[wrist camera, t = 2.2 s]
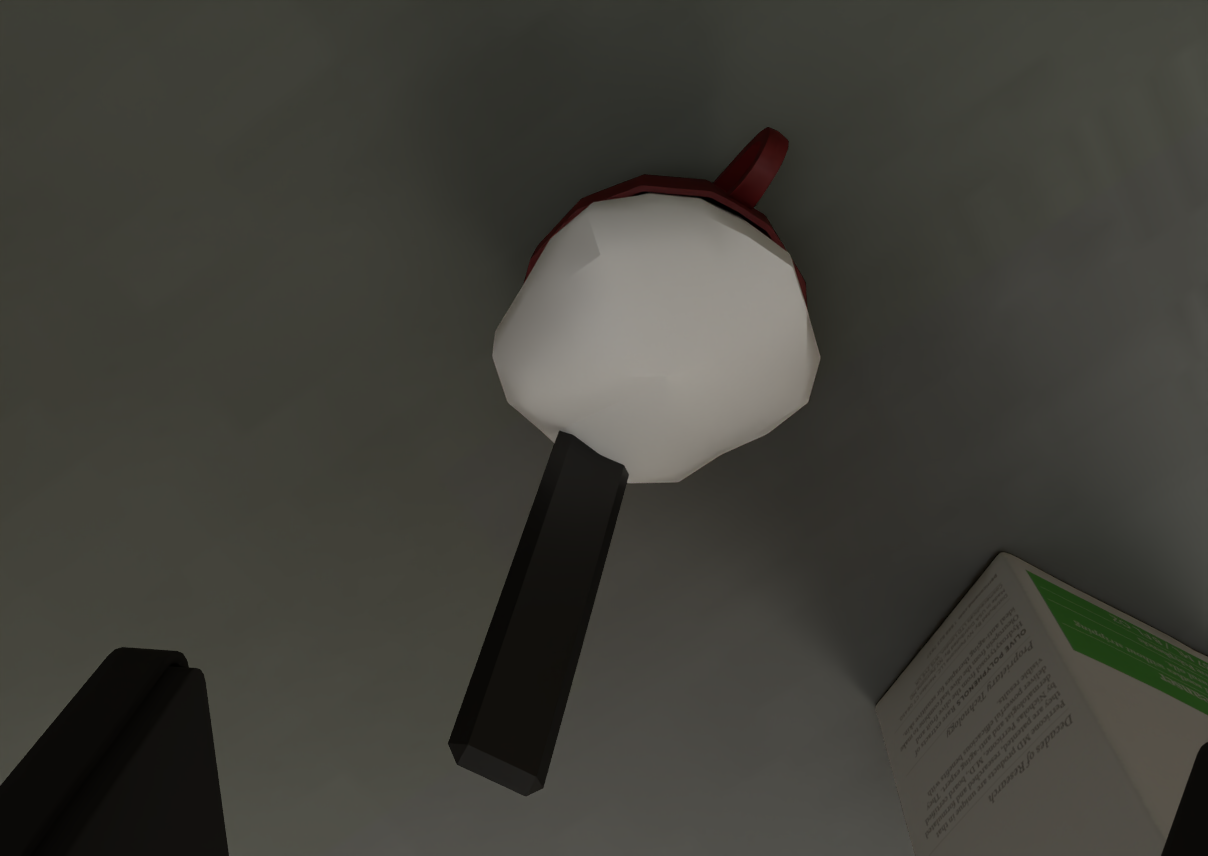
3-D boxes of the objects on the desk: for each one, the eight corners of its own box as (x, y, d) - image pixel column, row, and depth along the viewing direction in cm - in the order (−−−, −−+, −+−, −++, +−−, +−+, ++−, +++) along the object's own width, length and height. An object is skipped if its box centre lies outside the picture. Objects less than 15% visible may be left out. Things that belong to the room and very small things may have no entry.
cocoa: (734, 65, 23) (818, 140, 12) (878, 286, 25) (1067, 529, 14) (414, 306, 25) (236, 553, 14) (568, 489, 27) (515, 832, 16)
